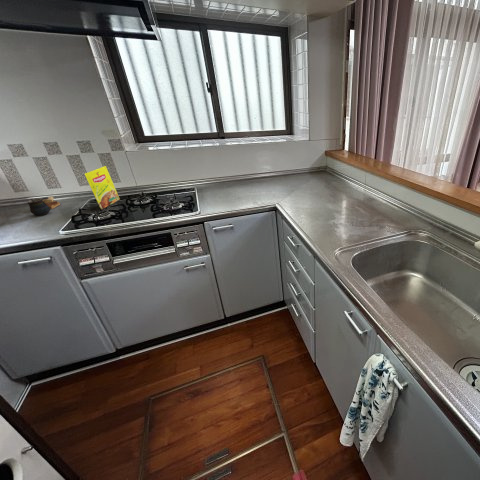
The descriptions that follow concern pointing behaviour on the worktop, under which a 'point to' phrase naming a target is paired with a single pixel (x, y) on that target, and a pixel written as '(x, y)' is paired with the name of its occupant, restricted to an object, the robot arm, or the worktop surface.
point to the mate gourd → (38, 207)
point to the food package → (102, 187)
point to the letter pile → (50, 202)
